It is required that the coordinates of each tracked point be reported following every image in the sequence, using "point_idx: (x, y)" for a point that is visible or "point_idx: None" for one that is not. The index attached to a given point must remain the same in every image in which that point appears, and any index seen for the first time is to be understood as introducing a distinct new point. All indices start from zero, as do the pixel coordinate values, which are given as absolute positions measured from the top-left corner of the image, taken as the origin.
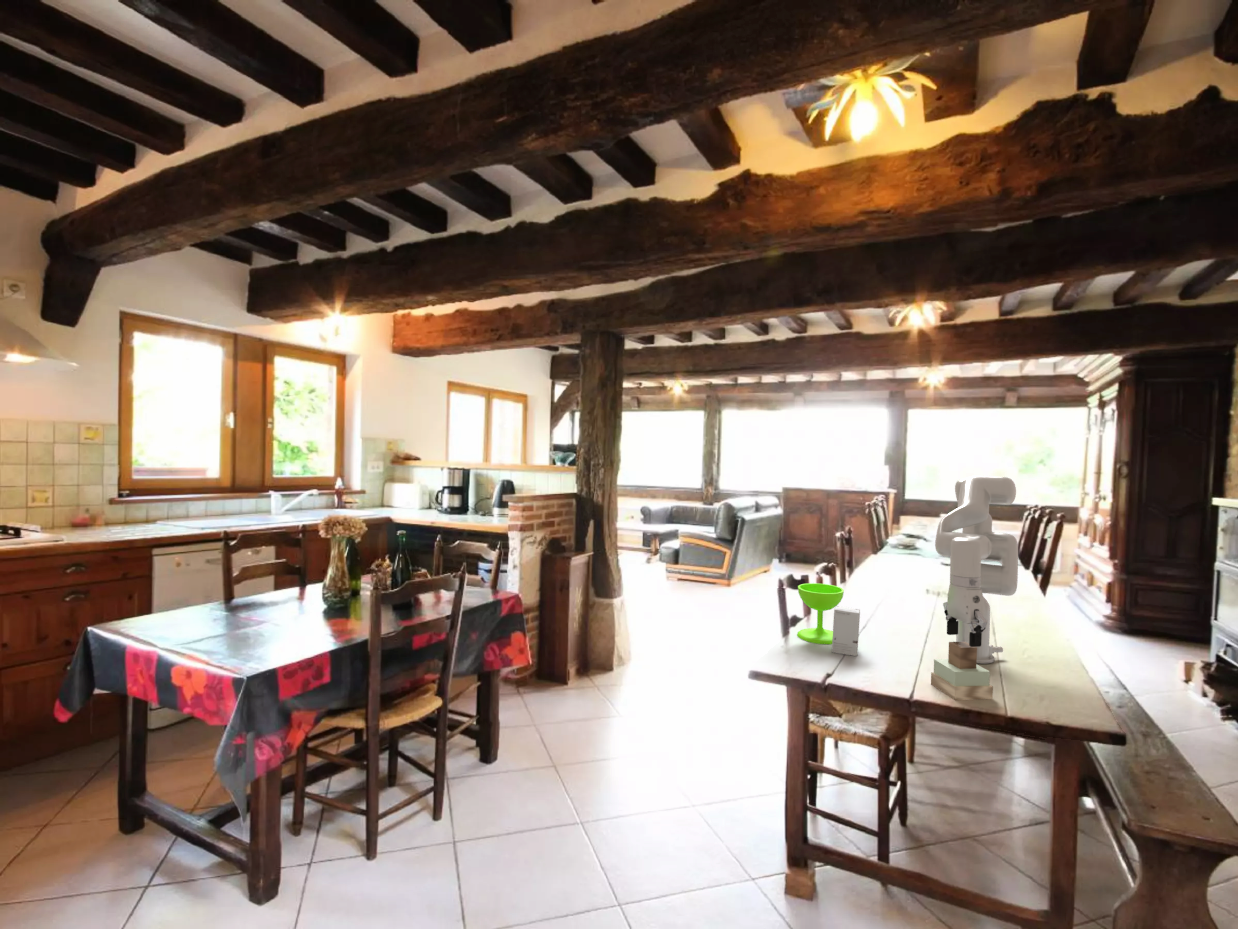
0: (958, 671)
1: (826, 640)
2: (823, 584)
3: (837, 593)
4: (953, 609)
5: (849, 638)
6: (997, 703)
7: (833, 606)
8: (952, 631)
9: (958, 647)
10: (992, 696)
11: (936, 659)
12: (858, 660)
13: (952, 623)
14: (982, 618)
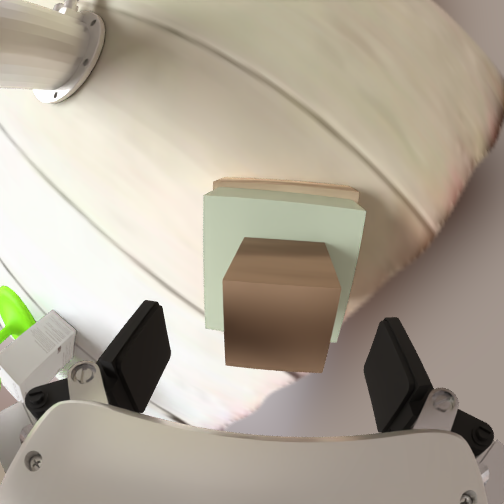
0: (334, 330)
1: None
2: None
3: None
4: None
5: (55, 359)
6: (377, 197)
7: None
8: (159, 349)
9: (306, 369)
10: (351, 187)
11: (208, 322)
12: (95, 341)
13: (138, 392)
14: (495, 501)
